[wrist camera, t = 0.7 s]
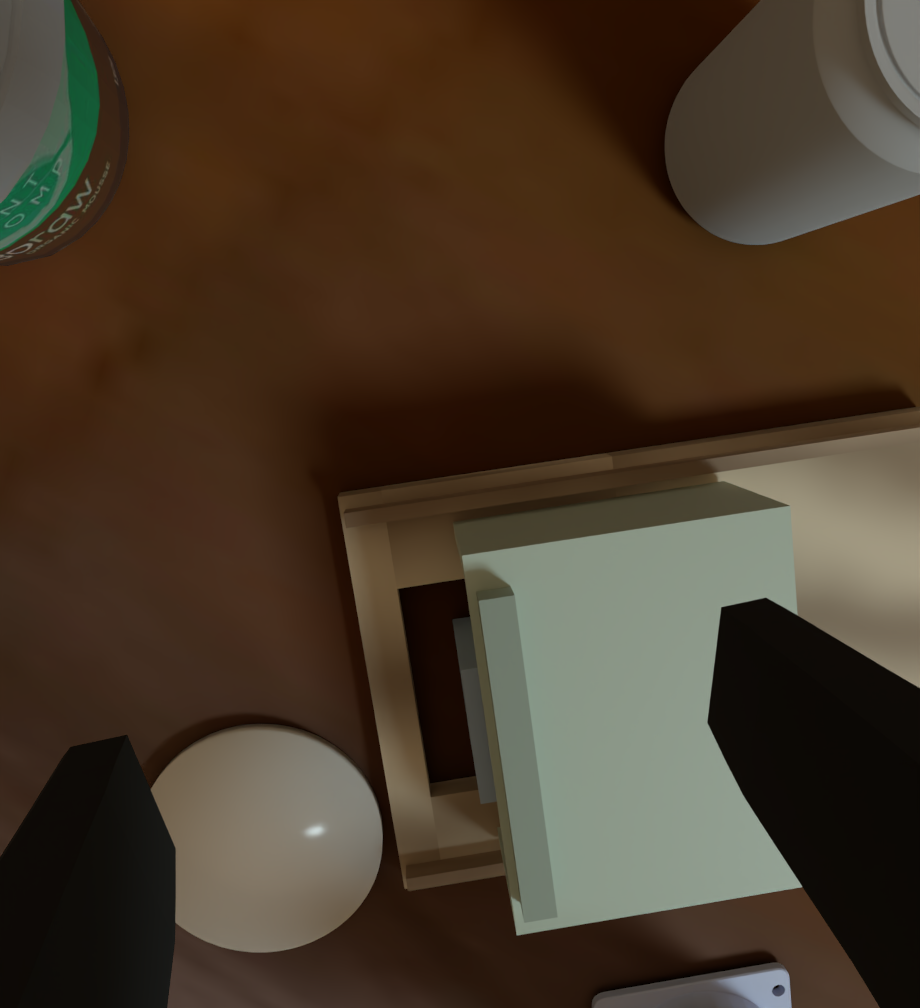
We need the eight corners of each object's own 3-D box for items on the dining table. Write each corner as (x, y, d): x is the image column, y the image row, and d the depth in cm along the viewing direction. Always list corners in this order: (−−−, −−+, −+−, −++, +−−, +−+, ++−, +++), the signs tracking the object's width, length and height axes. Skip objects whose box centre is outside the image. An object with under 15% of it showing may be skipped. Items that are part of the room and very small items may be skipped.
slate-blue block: (586, 713, 30) (620, 781, 25) (469, 731, 30) (480, 804, 25) (572, 600, 29) (605, 647, 25) (452, 618, 29) (460, 670, 24)
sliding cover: (750, 800, 30) (830, 903, 24) (499, 842, 29) (520, 957, 24) (723, 481, 28) (805, 511, 22) (452, 521, 27) (463, 563, 22)
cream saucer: (399, 920, 31) (399, 930, 31) (168, 959, 31) (163, 970, 30) (362, 705, 30) (361, 712, 29) (118, 744, 29) (112, 752, 29)
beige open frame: (931, 784, 32) (962, 809, 30) (404, 872, 31) (404, 903, 29) (917, 406, 29) (950, 409, 27) (340, 492, 28) (335, 501, 26)
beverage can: (786, 279, 28) (1064, 217, 16) (623, 198, 27) (790, 68, 15) (874, 102, 27) (1235, -102, 15) (709, 12, 26) (955, -277, 14)
